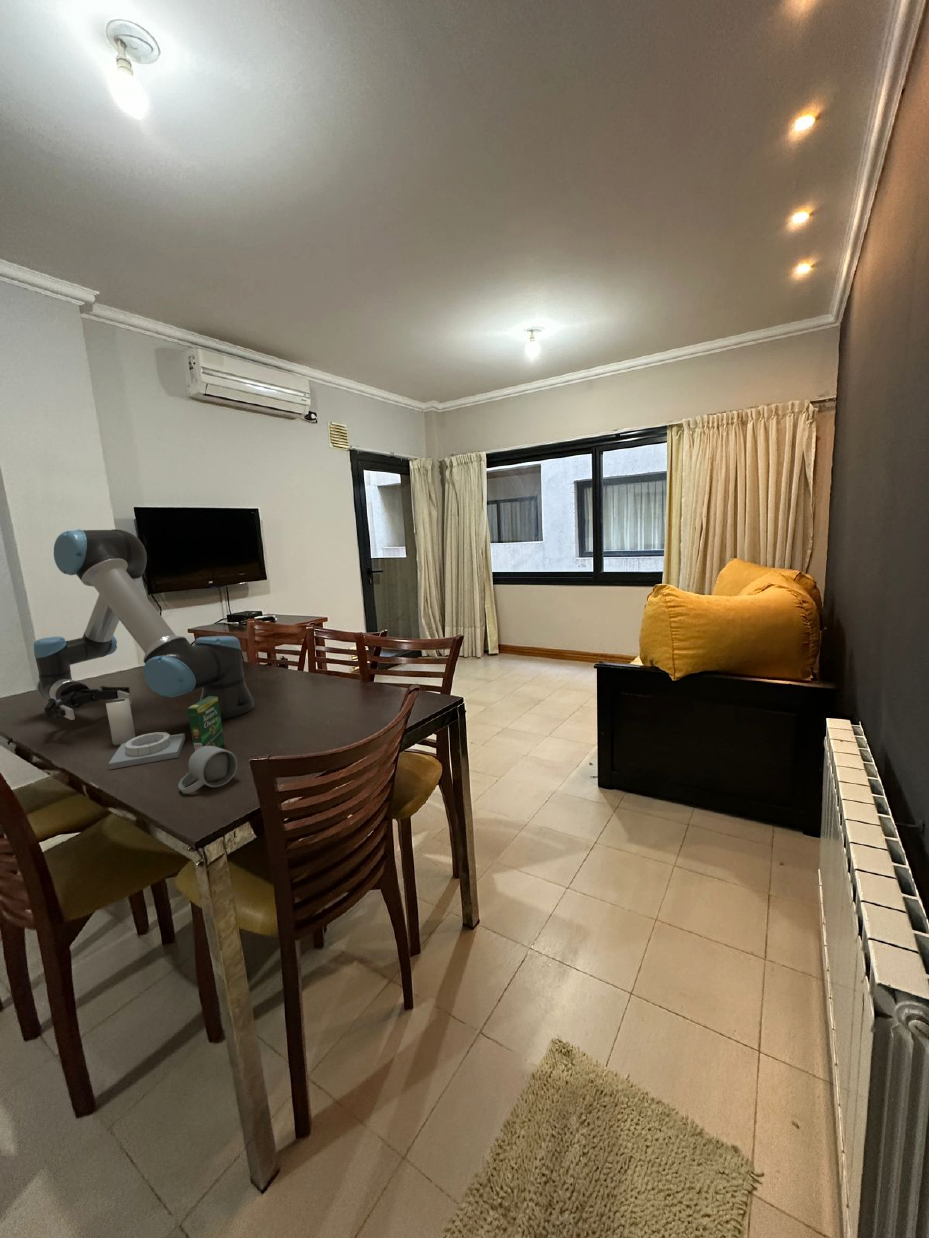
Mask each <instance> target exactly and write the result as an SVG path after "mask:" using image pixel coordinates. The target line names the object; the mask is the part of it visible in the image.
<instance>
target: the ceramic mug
mask: <svg viewBox="0 0 929 1238" xmlns="http://www.w3.org/2000/svg"><path fill="white" fill-rule="evenodd" d="M187 766H188V767H187V768H188V771H189V772H187V773H186V774H185V775H184V776H183V777H182V778H181V779H180V781H179V782H178V784H177V785H178V789H179V790H180V791H181V793H182V794H183V795H186V794H188V795H189V794H191V793H194V792H195V791H197V790H199V789H200V788H201V787H203V786H204V785H205V786H207V787H209V788H219V787H222V786H224V785H226V784H228V783H229V782H230V781H231V780H232V779H233V778H234V776H235V775H236V772H237V770H238V760H237V757H236V755H235V754H234V753H233V752H232V751H230V750H227V749H224V748H222V747H220V748H218V747H215V746H203V747H201V748H199V749H197V750H196V751H195V752H194V751H193V752H192V754H191V755H190V757H189V759H188V764H187ZM193 778H195V779H197V780H196V781H195V782H194V783H192V784H191V785H189V786H187V787H186V785H187V783H188V782H189V781H191V780H192V779H193Z"/></svg>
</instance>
